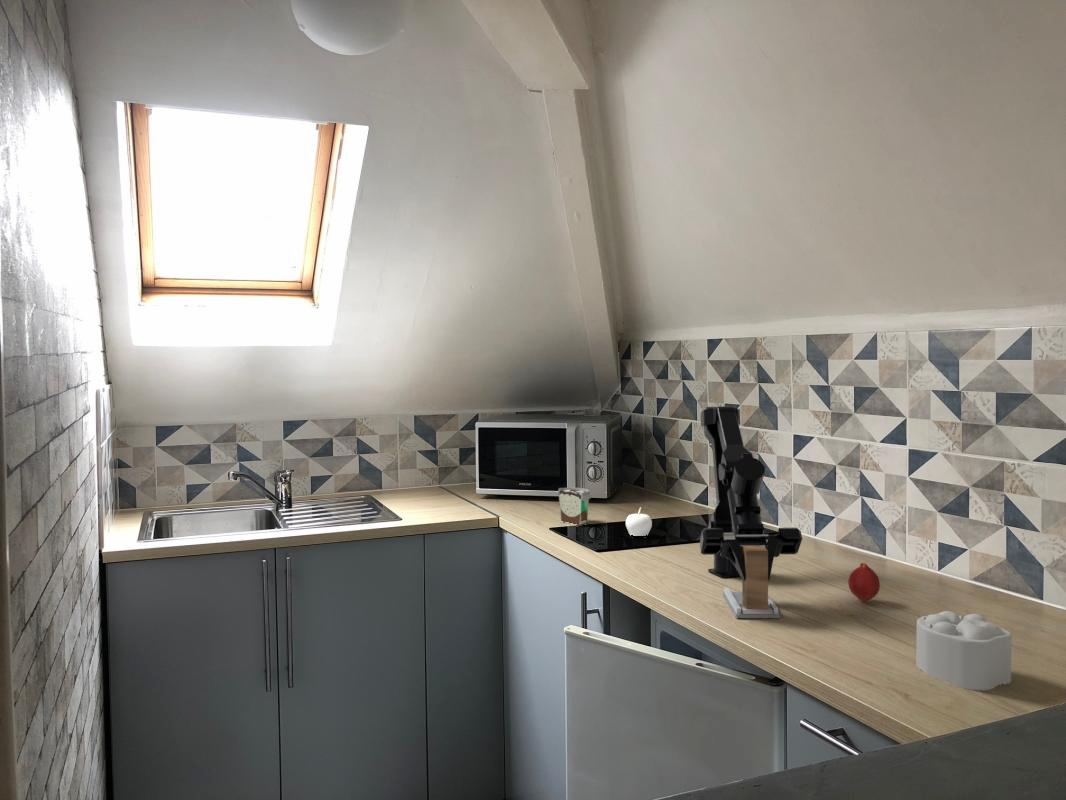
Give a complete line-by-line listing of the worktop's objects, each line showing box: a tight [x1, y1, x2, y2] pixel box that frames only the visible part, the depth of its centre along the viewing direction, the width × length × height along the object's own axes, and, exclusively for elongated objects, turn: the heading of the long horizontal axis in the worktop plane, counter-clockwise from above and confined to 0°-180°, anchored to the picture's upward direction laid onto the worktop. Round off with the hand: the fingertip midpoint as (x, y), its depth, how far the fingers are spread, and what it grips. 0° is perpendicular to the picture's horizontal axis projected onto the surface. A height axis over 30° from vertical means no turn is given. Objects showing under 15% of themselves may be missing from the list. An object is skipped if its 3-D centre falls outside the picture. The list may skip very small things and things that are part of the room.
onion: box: [847, 561, 881, 603], centre depth 168 cm, size 6×6×8 cm
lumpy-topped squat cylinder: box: [915, 610, 1013, 692], centre depth 131 cm, size 10×13×9 cm
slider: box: [722, 587, 781, 619], centre depth 166 cm, size 15×8×2 cm, turn 177°
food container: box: [557, 487, 592, 525], centre depth 251 cm, size 12×6×10 cm, turn 34°
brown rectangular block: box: [738, 546, 773, 614], centre depth 161 cm, size 5×5×12 cm
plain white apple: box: [625, 507, 653, 536], centre depth 231 cm, size 7×7×8 cm
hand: (756, 579), depth 159 cm, fingers open, 4 cm apart
